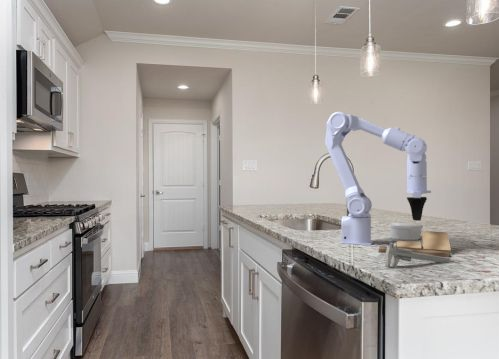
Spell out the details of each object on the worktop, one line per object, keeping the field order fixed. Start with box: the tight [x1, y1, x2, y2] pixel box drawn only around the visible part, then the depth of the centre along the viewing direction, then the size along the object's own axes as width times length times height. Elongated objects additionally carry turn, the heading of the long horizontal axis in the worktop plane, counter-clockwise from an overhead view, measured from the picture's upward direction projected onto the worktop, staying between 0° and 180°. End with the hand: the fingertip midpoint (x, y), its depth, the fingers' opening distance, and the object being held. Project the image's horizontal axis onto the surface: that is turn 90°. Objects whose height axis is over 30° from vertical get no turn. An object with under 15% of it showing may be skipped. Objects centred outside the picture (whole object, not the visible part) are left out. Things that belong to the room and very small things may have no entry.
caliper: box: [384, 242, 454, 269], centre depth 96 cm, size 20×1×6 cm, turn 108°
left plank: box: [395, 240, 423, 249], centre depth 117 cm, size 7×11×1 cm, turn 158°
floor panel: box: [378, 245, 450, 258], centre depth 109 cm, size 18×4×1 cm, turn 68°
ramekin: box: [388, 222, 423, 241], centre depth 136 cm, size 11×11×5 cm
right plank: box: [421, 230, 452, 255], centre depth 114 cm, size 7×11×1 cm, turn 158°
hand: (416, 220), depth 119 cm, fingers closed
